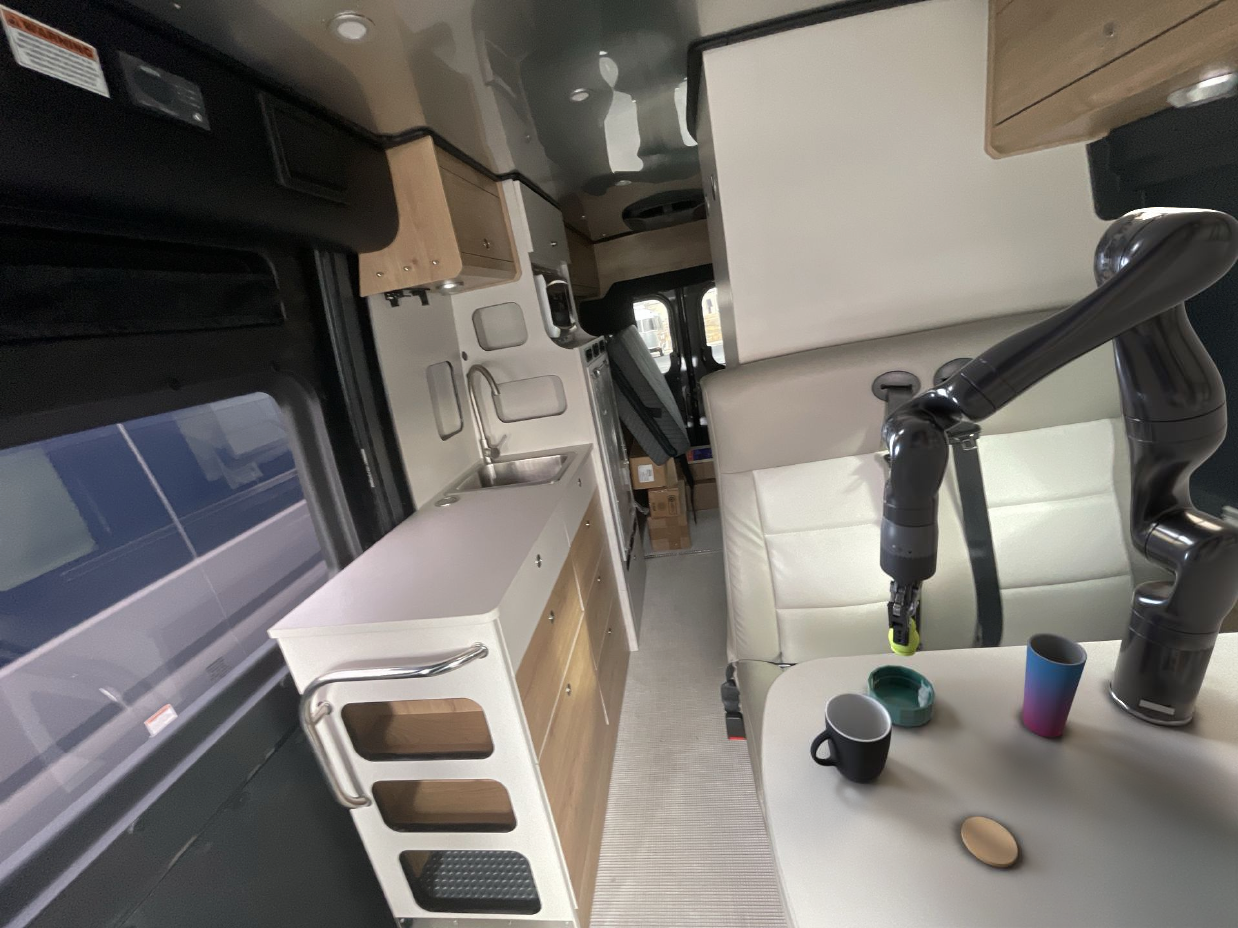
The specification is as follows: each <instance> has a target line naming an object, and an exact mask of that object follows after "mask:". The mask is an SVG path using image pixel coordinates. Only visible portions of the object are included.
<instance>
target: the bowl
mask: <svg viewBox="0 0 1238 928" xmlns="http://www.w3.org/2000/svg"><path fill="white" fill-rule="evenodd" d="M866 687H867V691H866V695H867V696H869V697H871V698H873V699H875V700H876V701H878V702H879V703H880V704H882V705H883V706H884V707H885V709H886V710H887V711H888V713H889V715H890V717H891V721H892V724H894V725H897V726H900V727H901V726H902V727H911V728H912V727H918V726H921V725H925V724H926V723H928V722H929V721H930V720H931V719H932V718H933V713H934V710H935V709H934V707H935V699H936V698H935V697H936V692H935V690H934V687H933V684H932V683H931V682H930V681H929V679H927V678H926V676H925V675H923V674H921V673H919V672H918V671H916V670H914V669H912V668H909V667H905V666H902V665H892V664H887V665H883V666H878V667H877V668H875V669H873V670H872V671H871V672H870V673H869V675H868V678H867V685H866Z"/></svg>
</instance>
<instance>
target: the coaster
mask: <svg viewBox="0 0 1238 928" xmlns="http://www.w3.org/2000/svg"><path fill="white" fill-rule="evenodd" d="M960 830H961V831H960V832H961V838H962V841H963V843H964V845H965V847H966V848H967V850H968V851H969V852H970V853H971V854H972V855H973V856H974V857H976V858H977V859H979V860H980V861H981V862H983V863H985V864H986V865H987V864H988V865H989V866H993V867H997V868H1006V867H1009V866H1012V865H1013V864H1014V863H1015V862H1016V861H1017V859H1018V854H1019V849H1018V845H1017V842H1016V840H1015V838H1014V837H1013V835H1012V834H1011V833H1010V832H1009V830H1008V829H1006V828H1005V827H1004V826H1003V825H1002V824H1000V823H999V822H997V821H995V820H993V819H990V818H987V817H984V816H972V817H971V816H970V817H969V818H967V819H966V820H964V821H963V823H962V825H961V829H960Z"/></svg>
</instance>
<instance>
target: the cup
mask: <svg viewBox="0 0 1238 928" xmlns="http://www.w3.org/2000/svg"><path fill="white" fill-rule="evenodd" d="M1025 656H1026V657H1025V673H1024V687H1023V699H1022V700H1023V701H1022V714H1021V716H1022V717H1021V718H1022V723H1023V724H1024V725H1025V727H1026V728H1027V729H1029V731H1031V732H1033V733H1034V734H1036V735H1038V736H1041V737H1045V738H1049V739H1050V738H1053V739H1054V738H1059V737H1061V735H1063V733H1064V730H1065V727H1066V724H1067V721H1068V718H1069V714H1070V712H1071V708H1072V706H1073V702H1074V700H1075V696H1076V693H1077V691H1078V688H1079V685H1080V681H1081V678H1082V675H1083V672H1084V669H1085V666H1086V663H1087V660H1088V654H1087V651H1086V650H1085V648H1084V647H1083V646H1082V645H1081V644H1080V643H1078V642H1076V641H1075V640H1073V639H1071V638H1069V637H1067V636H1063V635H1061V634H1058V633H1051V632H1037V633H1034V634H1032V635H1030V636H1029V637H1028V638H1027V643H1026V655H1025Z"/></svg>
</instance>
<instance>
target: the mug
mask: <svg viewBox="0 0 1238 928" xmlns="http://www.w3.org/2000/svg"><path fill="white" fill-rule="evenodd" d="M824 723H825V730H823V731H822V732H821V733H819V734H818V735H817V736H815V738H814V739H813V740H812V742H811V745H810V748H809V750H810V751H809V752H810V756H811V758H812V760H813V761H814V762H815V763H816V764H817V765H819V766H822V767H834V768H836V769H837V771H838V772H839V773H840V774H841V775H842V777H844V778H845V779H847V780H849V781H851V782H853V783H858V784H869V783H872V782H874V781H875V780H877V779H878V778H879V777H880V776H881V774H883V771H884V769H885V767H886V763H887V760H888V755H889V753H890V748H891V740H892V732H893V723H892V721H891V717H890V715H889V713H888V711H887V710H886V709H885V707H884V706H883V705H882V704H880V703H879V702H878V701H876V700H875V699H873V698H871V697H869V696H867V694H863V693H858V692H842V693H839V694H836V695H834V696H832V697H831V698H830V699H829V700H828V701H827V703H826V706H825V710H824ZM826 741H827V745H828V750H829V756H828V757H826V758H820V757H819V756H818V755H817V751H818V750H819V748H820V746H821V745H822V744H823V743H824V742H826Z"/></svg>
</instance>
